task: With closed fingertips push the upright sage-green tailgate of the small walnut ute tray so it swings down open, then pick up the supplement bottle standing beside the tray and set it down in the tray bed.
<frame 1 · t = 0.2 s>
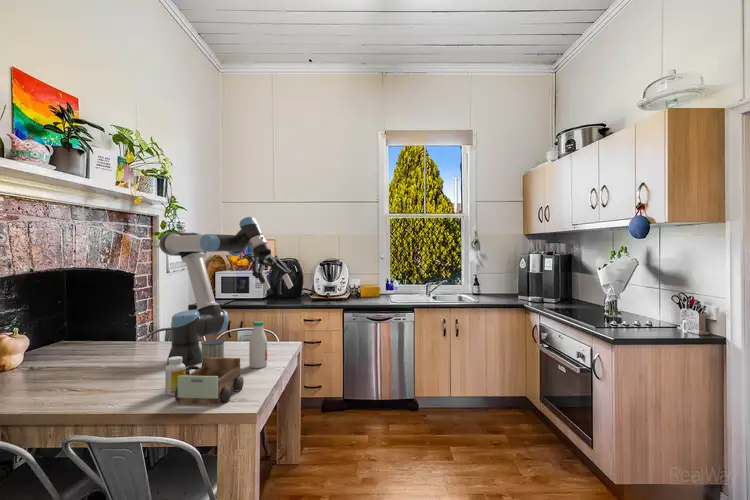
hand: (279, 288, 178), 36 cm above the table, tool tilted 35°, fingers open, 13 cm apart
milk bottle: (258, 366, 187), on the table
milk frother: (203, 377, 171), on the table
tailgate: (197, 387, 140), point 6 cm above the table, hinge at 0.0°
ute tray: (211, 394, 150), on the table
supplement bottle: (175, 393, 152), on the table
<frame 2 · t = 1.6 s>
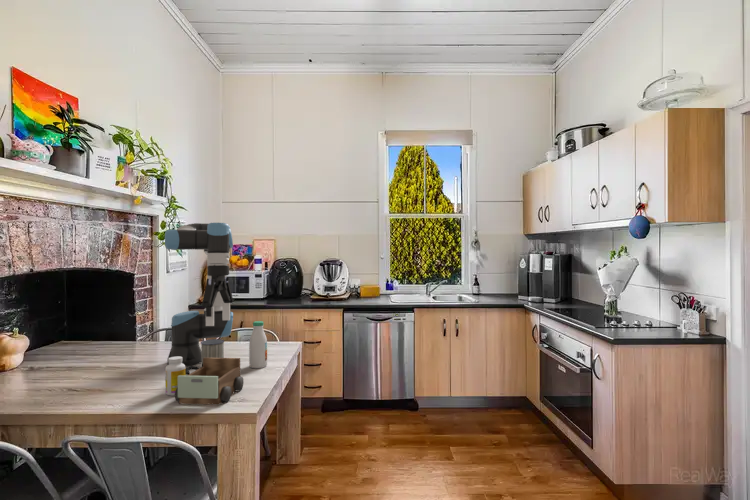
hand: (218, 323, 153), 25 cm above the table, tool pointing down, fingers open, 13 cm apart
nothing on the table moved.
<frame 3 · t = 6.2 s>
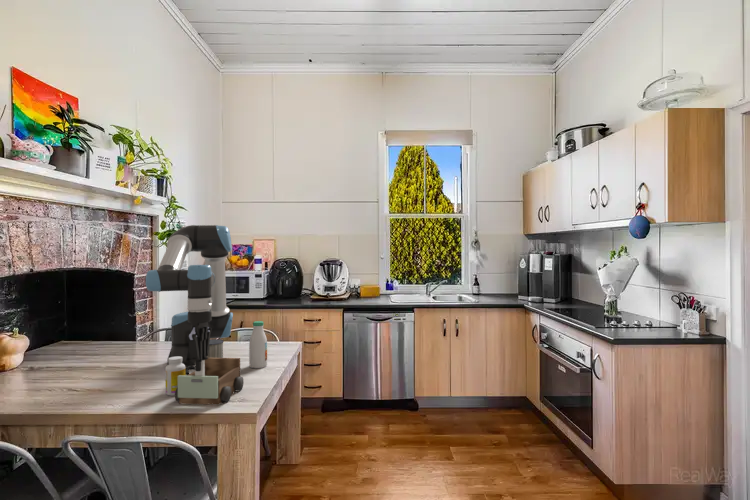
hand: (199, 379, 141), 8 cm above the table, tool pointing down, fingers closed
tailgate: (197, 387, 140), point 6 cm above the table, hinge at 0.0°, touching gripper
everything else where it was.
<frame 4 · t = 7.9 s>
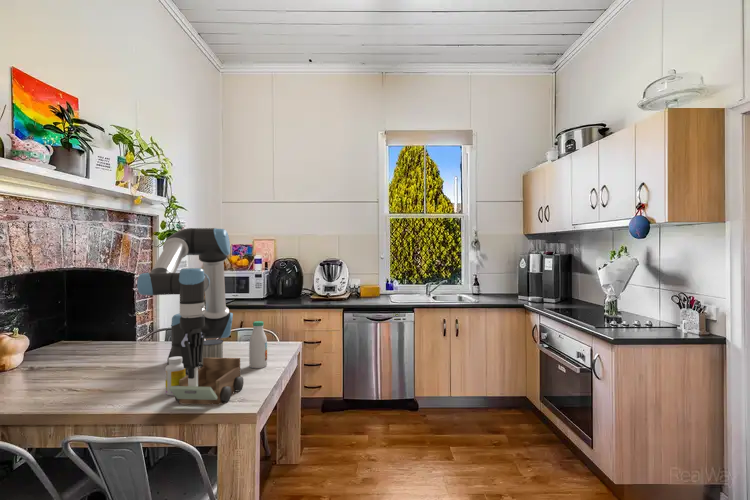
hand: (193, 387, 137), 7 cm above the table, tool pointing down, fingers closed
tailgate: (193, 393, 137), point 5 cm above the table, hinge at 45.0°, touching gripper
everything else where it was.
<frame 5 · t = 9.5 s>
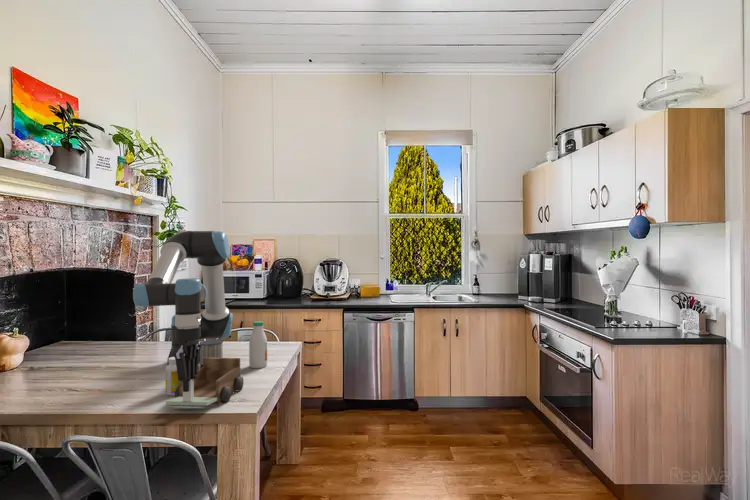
hand: (188, 400, 134), 4 cm above the table, tool pointing down, fingers closed
tailgate: (192, 401, 136), point 2 cm above the table, hinge at 81.9°, touching gripper
everything else where it was.
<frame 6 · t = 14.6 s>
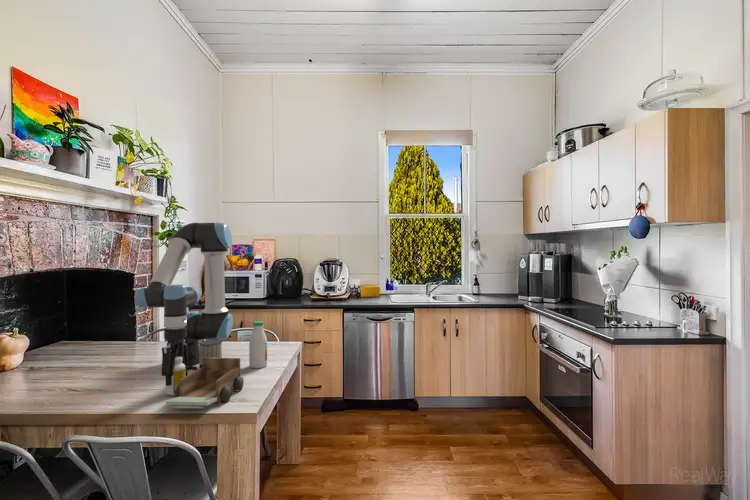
hand: (175, 390, 152), 1 cm above the table, tool pointing down, fingers closed on supplement bottle, 7 cm apart
tailgate: (192, 401, 136), point 2 cm above the table, hinge at 81.9°
supplement bottle: (175, 393, 152), on the table, touching gripper
everything else where it was.
when the fingers open (5 cm above the table, at t = 19.5 s): supplement bottle drops 2 cm, resting on ute tray.
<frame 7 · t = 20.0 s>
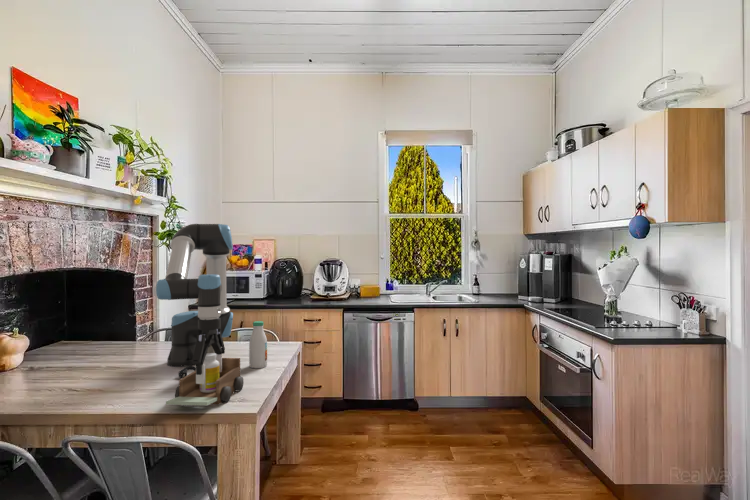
hand: (209, 377, 149), 7 cm above the table, tool pointing down, fingers open, 13 cm apart
supplement bottle: (209, 390, 149), point 2 cm above the table, touching ute tray
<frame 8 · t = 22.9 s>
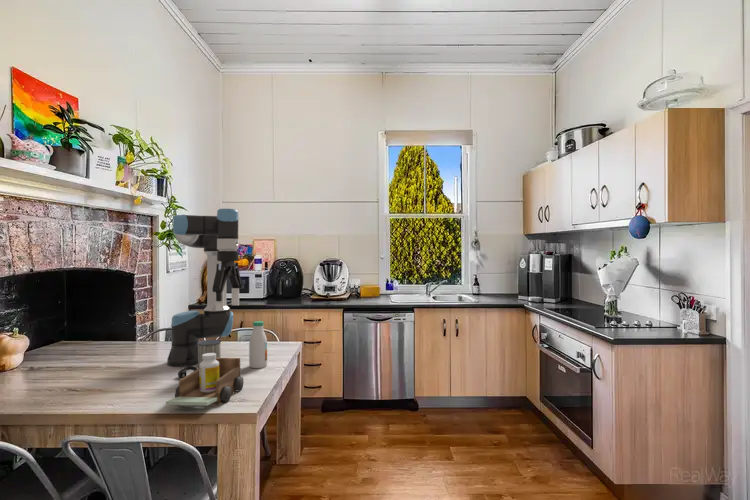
hand: (228, 307, 155), 31 cm above the table, tool pointing down, fingers open, 13 cm apart
at the end: tailgate at +82° (first picture: +0°); supplement bottle inside the target area on the ute tray (0.8 cm from its centre), point 1.8 cm above the ute tray's base; supplement bottle tilted 1° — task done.
